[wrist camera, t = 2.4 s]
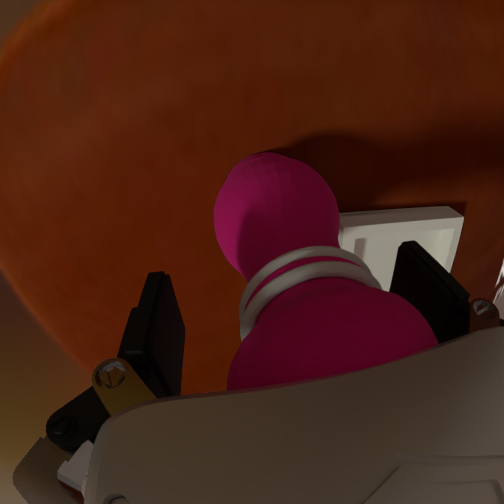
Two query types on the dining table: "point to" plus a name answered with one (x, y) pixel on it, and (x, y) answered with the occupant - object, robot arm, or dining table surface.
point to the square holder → (399, 236)
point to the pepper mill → (303, 281)
